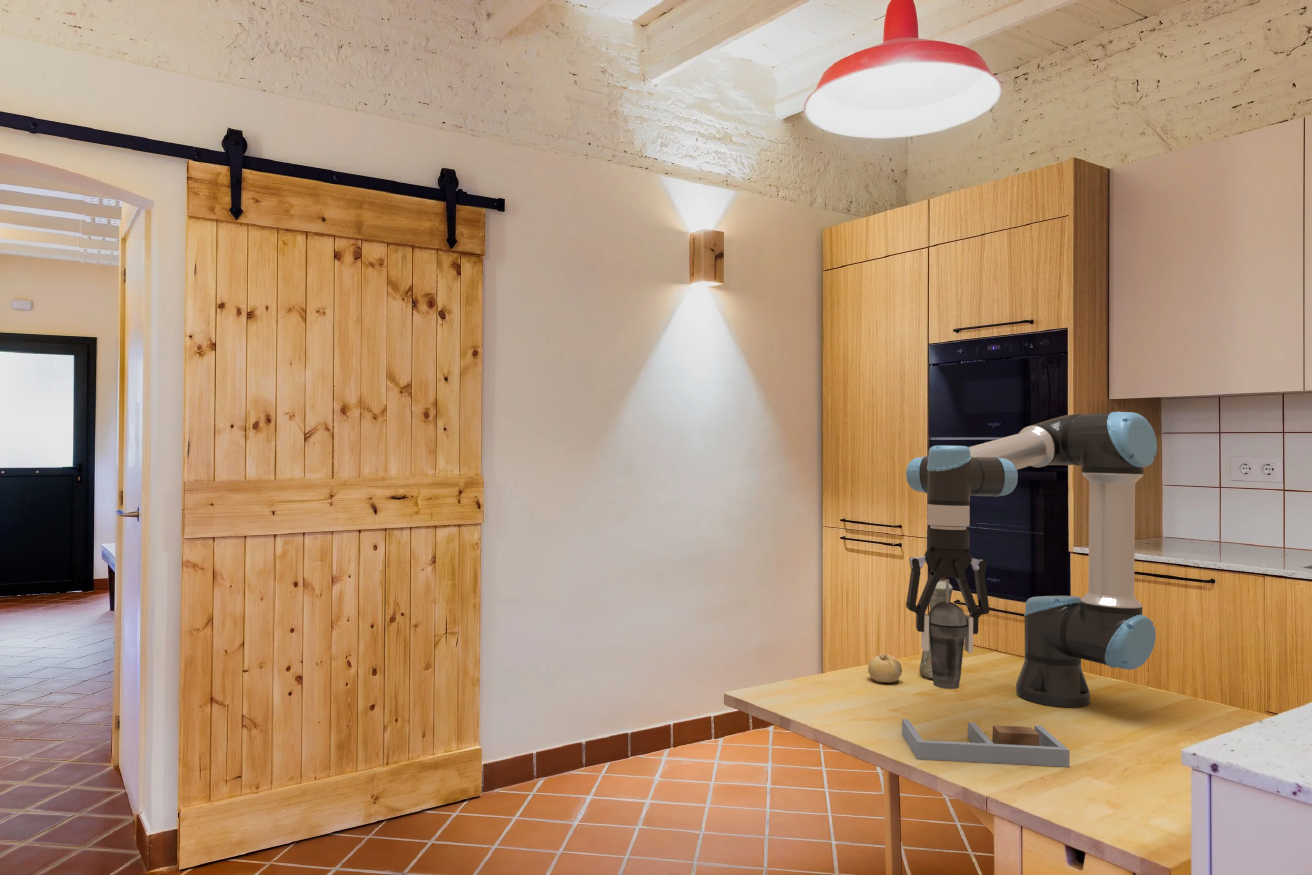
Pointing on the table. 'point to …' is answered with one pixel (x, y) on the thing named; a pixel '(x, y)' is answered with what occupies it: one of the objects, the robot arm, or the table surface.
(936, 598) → the bottle
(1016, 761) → the slot rack
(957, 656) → the beverage cup
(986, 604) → the robot arm
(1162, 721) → the table surface
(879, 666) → the onion
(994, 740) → the walnut bar
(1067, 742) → the table surface
